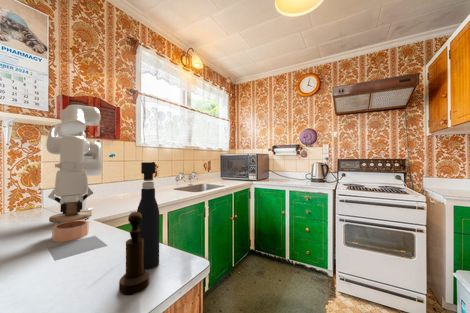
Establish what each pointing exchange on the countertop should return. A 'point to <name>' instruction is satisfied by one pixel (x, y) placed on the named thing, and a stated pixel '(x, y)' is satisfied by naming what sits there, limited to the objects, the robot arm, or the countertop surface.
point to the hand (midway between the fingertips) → (71, 212)
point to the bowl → (70, 230)
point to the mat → (75, 247)
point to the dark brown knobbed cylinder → (134, 260)
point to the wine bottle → (149, 218)
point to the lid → (70, 214)
